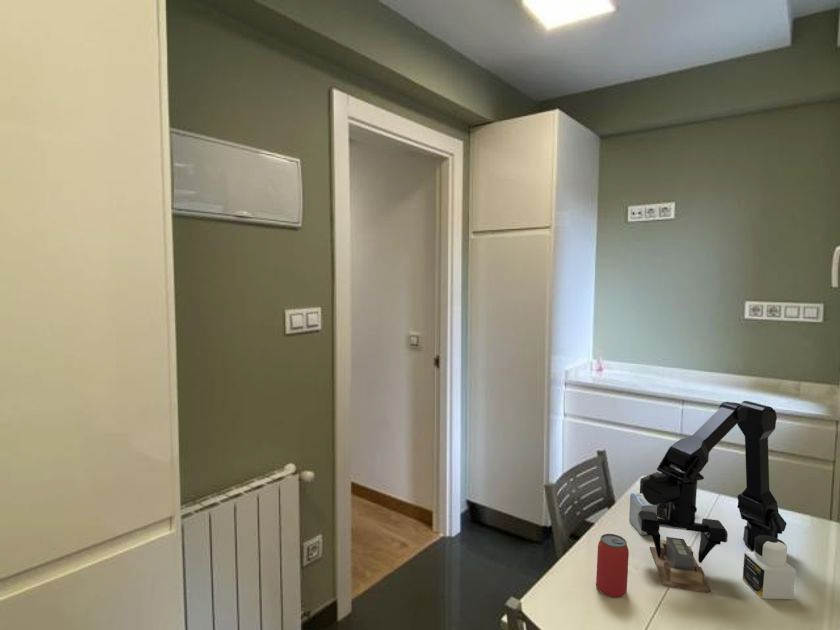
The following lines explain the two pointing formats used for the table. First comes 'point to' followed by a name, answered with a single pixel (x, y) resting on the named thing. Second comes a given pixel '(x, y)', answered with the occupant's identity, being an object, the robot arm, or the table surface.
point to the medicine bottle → (769, 569)
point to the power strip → (679, 554)
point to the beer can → (612, 565)
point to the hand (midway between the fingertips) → (678, 559)
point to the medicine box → (639, 509)
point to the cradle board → (679, 572)
